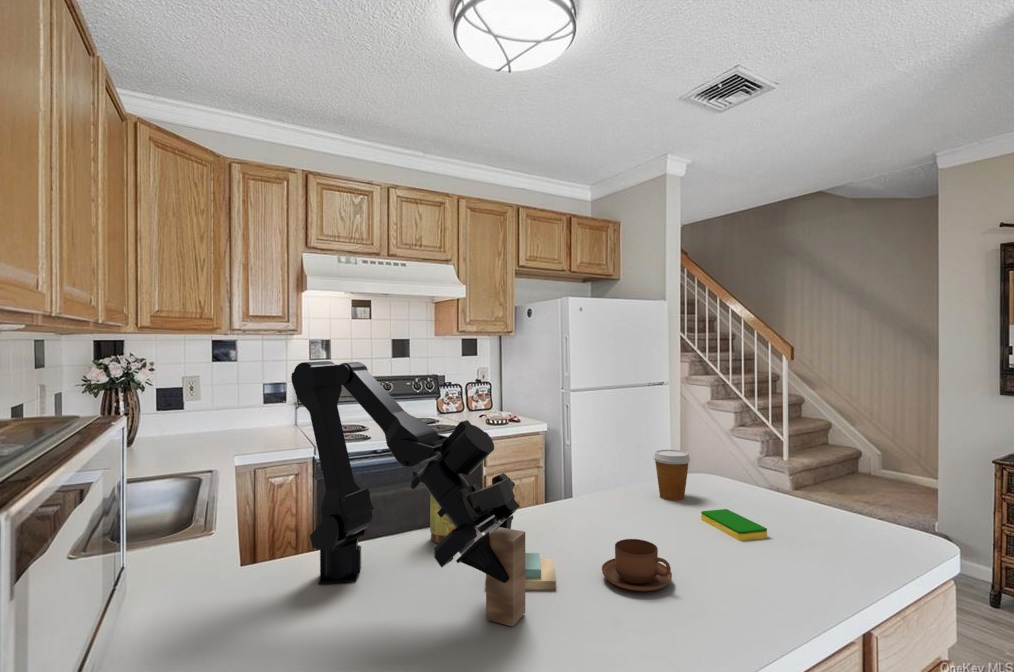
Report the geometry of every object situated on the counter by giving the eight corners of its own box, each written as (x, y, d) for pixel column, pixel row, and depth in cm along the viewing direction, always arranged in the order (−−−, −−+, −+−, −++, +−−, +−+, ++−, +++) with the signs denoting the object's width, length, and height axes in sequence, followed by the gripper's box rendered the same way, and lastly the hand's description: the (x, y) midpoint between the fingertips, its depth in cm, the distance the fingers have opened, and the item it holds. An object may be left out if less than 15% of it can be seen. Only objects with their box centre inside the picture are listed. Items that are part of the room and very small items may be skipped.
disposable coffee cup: (686, 504, 135) (686, 458, 135) (649, 499, 140) (649, 454, 140) (694, 495, 144) (693, 451, 144) (658, 490, 148) (658, 447, 148)
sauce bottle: (454, 546, 109) (454, 449, 109) (426, 543, 110) (425, 448, 110) (463, 534, 115) (463, 443, 116) (436, 532, 117) (436, 442, 117)
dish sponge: (726, 518, 126) (726, 508, 126) (768, 539, 113) (768, 528, 113) (700, 521, 124) (700, 510, 125) (739, 543, 111) (739, 531, 111)
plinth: (485, 589, 90) (485, 571, 90) (488, 566, 99) (488, 550, 99) (555, 589, 90) (555, 572, 90) (552, 567, 99) (552, 550, 99)
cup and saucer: (673, 572, 97) (672, 538, 97) (670, 603, 85) (670, 565, 85) (607, 563, 101) (606, 531, 101) (596, 592, 89) (596, 555, 89)
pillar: (486, 619, 80) (486, 536, 80) (499, 605, 84) (499, 527, 84) (513, 626, 78) (512, 541, 78) (525, 612, 82) (525, 531, 82)
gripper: (451, 474, 74) (523, 568, 69) (509, 449, 91) (570, 523, 86) (405, 522, 78) (471, 614, 73) (469, 489, 94) (525, 562, 89)
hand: (514, 574), depth 80 cm, fingers closed on pillar, 4 cm apart
